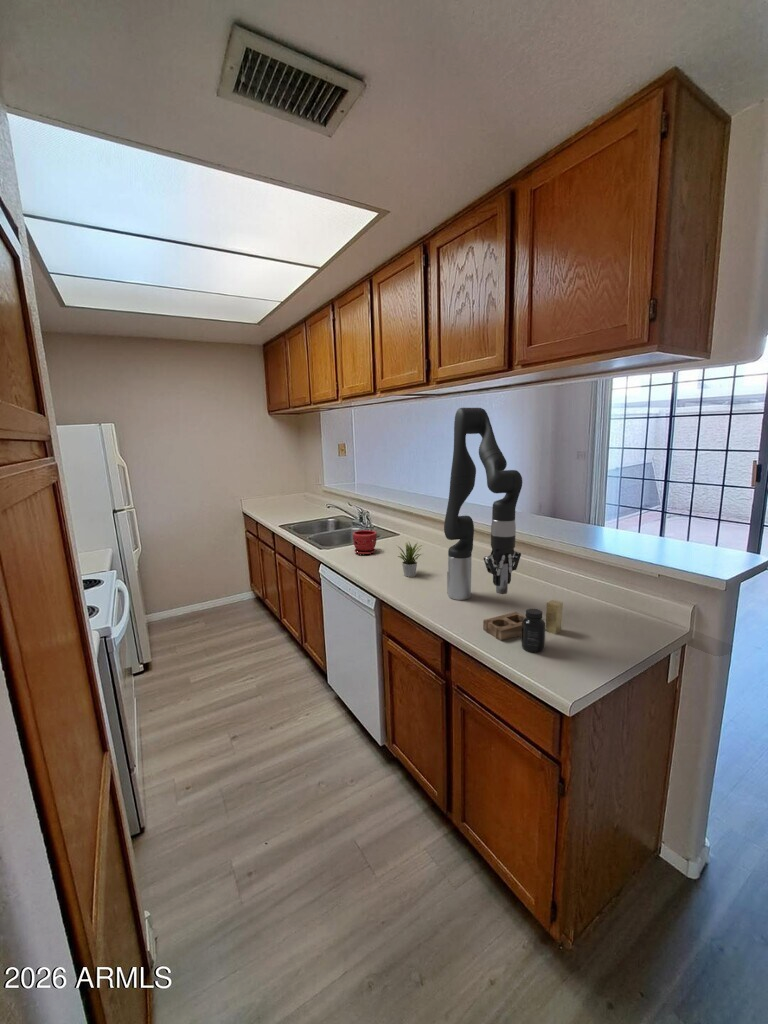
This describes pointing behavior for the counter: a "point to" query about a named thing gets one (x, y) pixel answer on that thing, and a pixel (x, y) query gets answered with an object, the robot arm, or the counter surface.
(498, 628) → the bore block
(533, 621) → the supplement bottle
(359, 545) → the plant pot
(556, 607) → the square bit
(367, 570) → the counter surface
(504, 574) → the cylinder
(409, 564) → the house plant
